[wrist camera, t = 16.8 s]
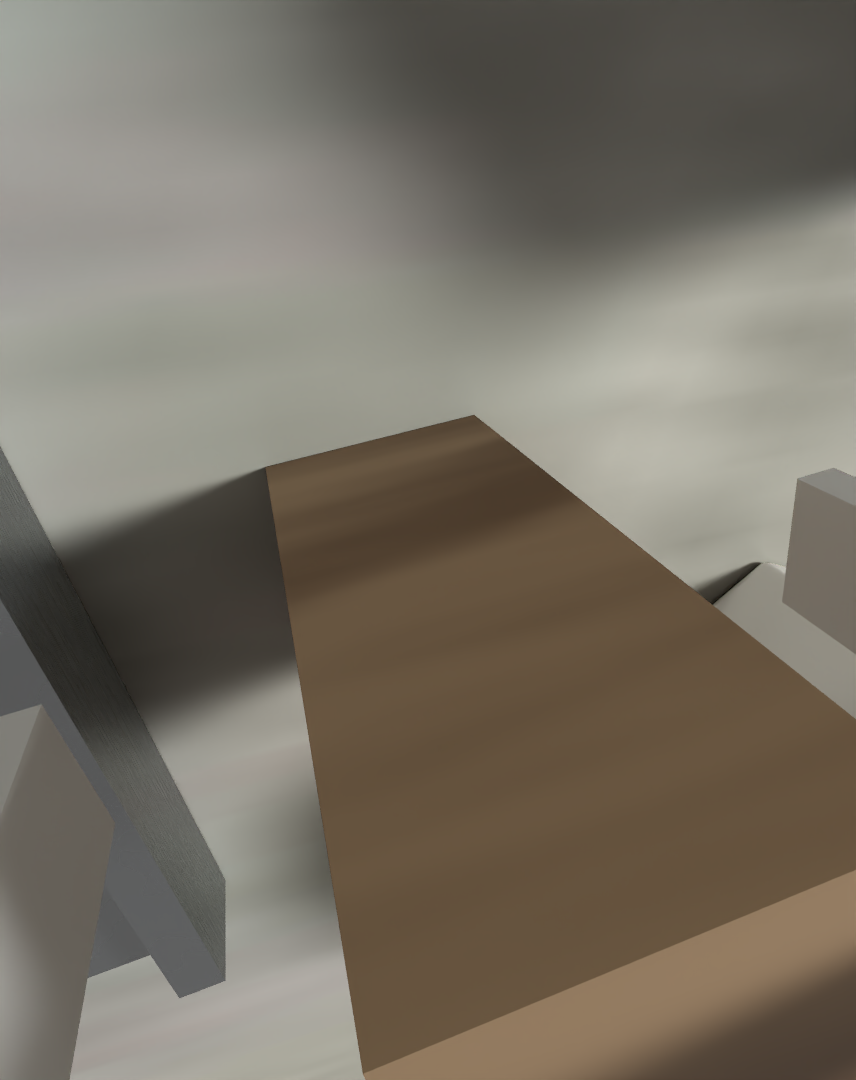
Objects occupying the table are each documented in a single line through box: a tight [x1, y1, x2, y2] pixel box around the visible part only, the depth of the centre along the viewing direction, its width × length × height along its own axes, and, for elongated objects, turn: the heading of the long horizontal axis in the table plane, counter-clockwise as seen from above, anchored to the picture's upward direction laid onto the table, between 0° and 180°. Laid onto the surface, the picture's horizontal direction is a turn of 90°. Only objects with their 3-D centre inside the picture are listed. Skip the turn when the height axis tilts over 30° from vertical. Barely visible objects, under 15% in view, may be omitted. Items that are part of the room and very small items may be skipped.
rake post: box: [265, 415, 856, 1080], centre depth 11 cm, size 5×5×12 cm
